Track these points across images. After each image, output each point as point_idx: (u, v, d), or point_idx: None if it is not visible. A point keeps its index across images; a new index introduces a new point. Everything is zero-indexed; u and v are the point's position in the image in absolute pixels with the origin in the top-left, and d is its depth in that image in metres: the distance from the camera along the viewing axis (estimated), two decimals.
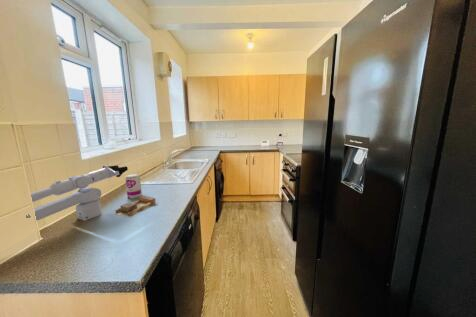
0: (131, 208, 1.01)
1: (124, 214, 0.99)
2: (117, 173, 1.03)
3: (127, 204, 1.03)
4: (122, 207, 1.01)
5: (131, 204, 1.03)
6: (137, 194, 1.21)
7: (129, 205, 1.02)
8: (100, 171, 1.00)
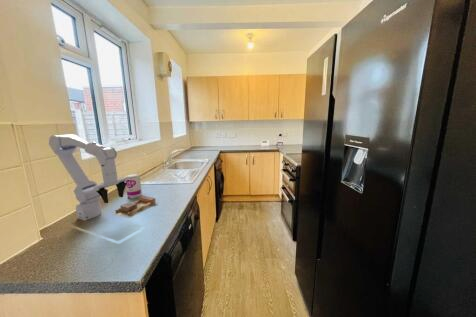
0: (131, 208, 1.01)
1: (124, 214, 0.99)
2: (95, 188, 0.86)
3: (127, 204, 1.03)
4: (122, 207, 1.01)
5: (131, 204, 1.03)
6: (137, 194, 1.21)
7: (129, 205, 1.02)
8: (109, 175, 0.90)
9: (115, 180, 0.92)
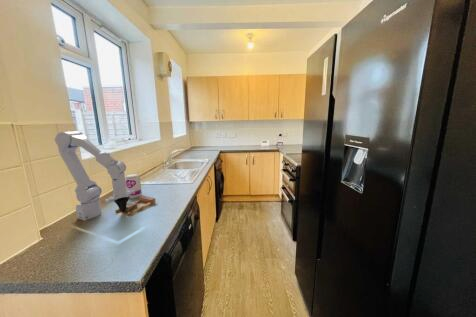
0: (131, 208, 1.01)
1: (124, 214, 0.99)
2: (106, 201, 0.92)
3: (128, 204, 1.03)
4: None
5: (132, 204, 1.03)
6: (137, 194, 1.21)
7: (130, 205, 1.02)
8: (119, 188, 0.95)
9: (125, 193, 0.97)
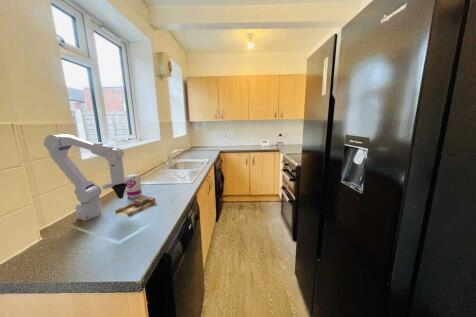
0: (144, 202, 1.08)
1: (124, 214, 0.99)
2: (103, 187, 0.91)
3: (140, 198, 1.10)
4: (135, 201, 1.08)
5: (144, 198, 1.10)
6: (137, 194, 1.21)
7: (142, 199, 1.09)
8: (116, 174, 0.94)
9: (122, 179, 0.97)
